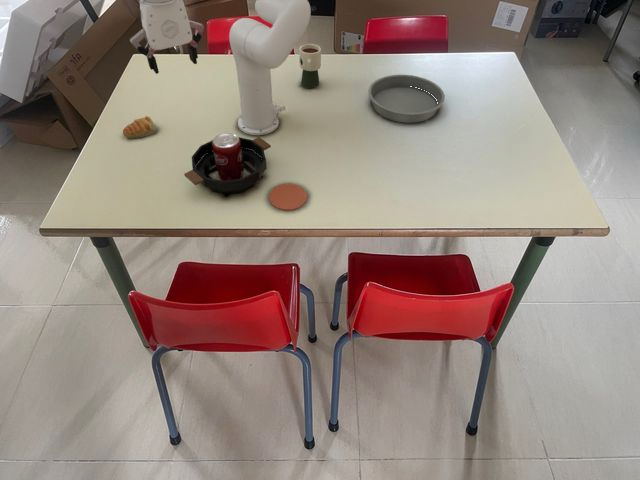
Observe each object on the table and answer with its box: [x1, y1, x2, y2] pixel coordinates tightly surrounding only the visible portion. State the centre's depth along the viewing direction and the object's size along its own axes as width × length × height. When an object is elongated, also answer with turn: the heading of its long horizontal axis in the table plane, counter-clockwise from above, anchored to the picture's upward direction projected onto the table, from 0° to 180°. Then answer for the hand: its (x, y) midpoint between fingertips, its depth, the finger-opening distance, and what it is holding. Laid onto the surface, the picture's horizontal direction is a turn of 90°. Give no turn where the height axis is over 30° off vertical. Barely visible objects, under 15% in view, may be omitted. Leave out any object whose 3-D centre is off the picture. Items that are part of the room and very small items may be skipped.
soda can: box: [211, 132, 246, 181], centre depth 126 cm, size 7×7×12 cm
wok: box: [183, 136, 272, 198], centre depth 128 cm, size 24×19×6 cm
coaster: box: [268, 183, 308, 212], centre depth 125 cm, size 10×10×1 cm
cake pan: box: [368, 74, 446, 124], centre depth 155 cm, size 25×25×4 cm
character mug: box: [298, 43, 322, 89], centre depth 159 cm, size 11×7×13 cm, turn 176°
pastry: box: [122, 115, 157, 139], centre depth 142 cm, size 9×7×4 cm
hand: (174, 66), depth 116 cm, fingers open, 9 cm apart
